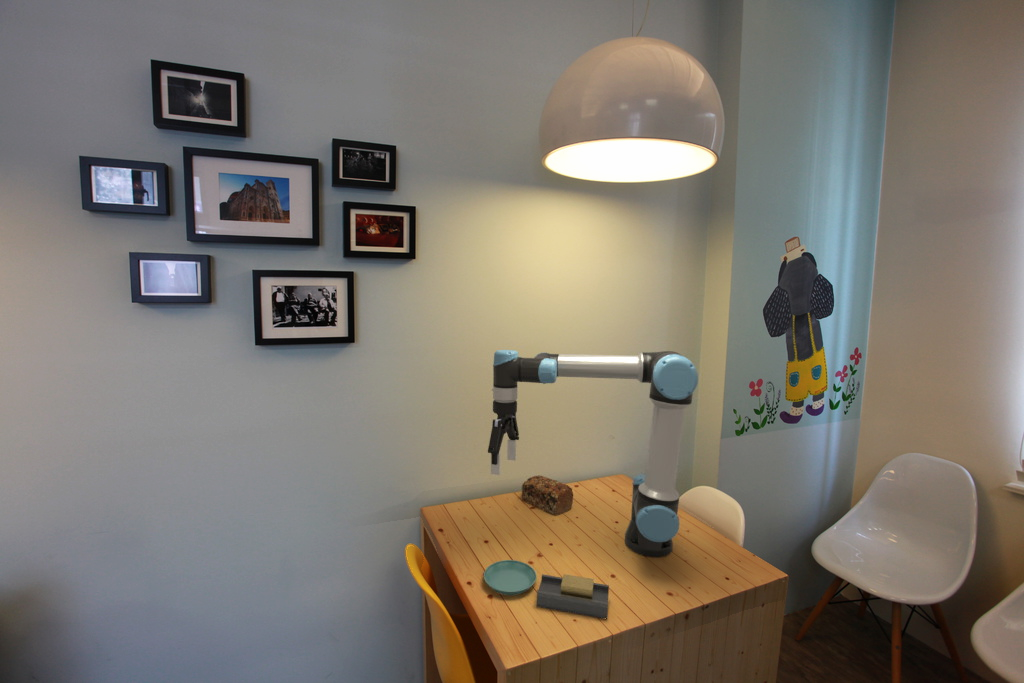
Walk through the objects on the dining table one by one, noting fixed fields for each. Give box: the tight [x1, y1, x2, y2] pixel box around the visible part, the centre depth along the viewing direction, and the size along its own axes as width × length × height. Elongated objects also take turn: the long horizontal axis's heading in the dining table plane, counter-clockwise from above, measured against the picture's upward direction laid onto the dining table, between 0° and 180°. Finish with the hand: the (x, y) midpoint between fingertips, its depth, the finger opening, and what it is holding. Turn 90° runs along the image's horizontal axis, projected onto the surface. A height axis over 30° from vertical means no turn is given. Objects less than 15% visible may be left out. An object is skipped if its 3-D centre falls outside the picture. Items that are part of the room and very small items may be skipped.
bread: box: [521, 474, 574, 516], centre depth 178 cm, size 19×11×10 cm, turn 42°
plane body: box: [535, 573, 610, 620], centre depth 120 cm, size 18×8×4 cm, turn 77°
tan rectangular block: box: [561, 573, 595, 600], centre depth 120 cm, size 8×5×3 cm, turn 77°
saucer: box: [483, 559, 537, 597], centre depth 128 cm, size 15×15×3 cm
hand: (503, 466), depth 144 cm, fingers open, 13 cm apart
